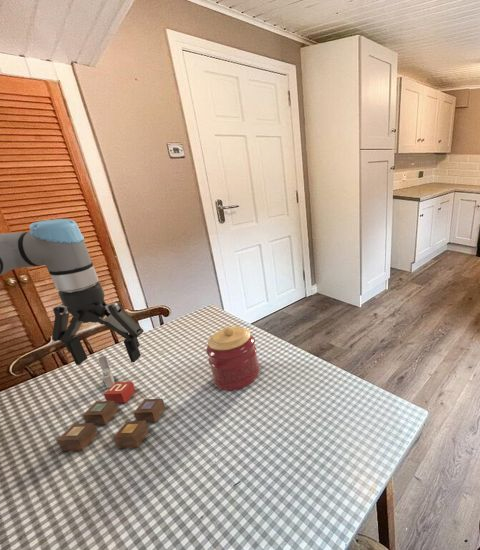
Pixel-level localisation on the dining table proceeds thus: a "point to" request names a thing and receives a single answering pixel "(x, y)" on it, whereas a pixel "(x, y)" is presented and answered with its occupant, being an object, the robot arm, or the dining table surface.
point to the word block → (77, 437)
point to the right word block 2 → (149, 410)
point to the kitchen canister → (233, 358)
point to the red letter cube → (120, 392)
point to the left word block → (100, 412)
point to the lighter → (106, 371)
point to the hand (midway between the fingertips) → (109, 360)
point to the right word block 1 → (131, 434)
